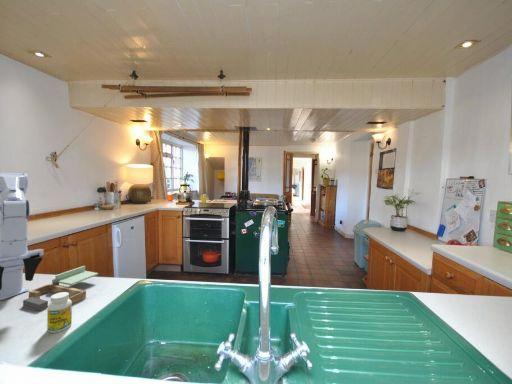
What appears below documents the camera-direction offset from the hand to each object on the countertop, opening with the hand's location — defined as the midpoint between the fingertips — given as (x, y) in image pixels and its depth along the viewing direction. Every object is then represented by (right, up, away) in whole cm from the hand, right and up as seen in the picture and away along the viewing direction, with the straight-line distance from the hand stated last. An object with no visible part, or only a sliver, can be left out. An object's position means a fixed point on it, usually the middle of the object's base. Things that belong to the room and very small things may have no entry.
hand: (14, 284), depth 71 cm
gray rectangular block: (+1, -10, +6) cm, 12 cm away
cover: (+2, -6, +21) cm, 22 cm away
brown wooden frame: (+3, -10, +12) cm, 16 cm away
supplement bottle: (+17, -11, -3) cm, 20 cm away
